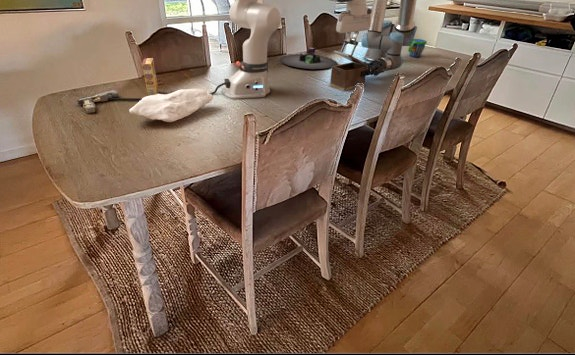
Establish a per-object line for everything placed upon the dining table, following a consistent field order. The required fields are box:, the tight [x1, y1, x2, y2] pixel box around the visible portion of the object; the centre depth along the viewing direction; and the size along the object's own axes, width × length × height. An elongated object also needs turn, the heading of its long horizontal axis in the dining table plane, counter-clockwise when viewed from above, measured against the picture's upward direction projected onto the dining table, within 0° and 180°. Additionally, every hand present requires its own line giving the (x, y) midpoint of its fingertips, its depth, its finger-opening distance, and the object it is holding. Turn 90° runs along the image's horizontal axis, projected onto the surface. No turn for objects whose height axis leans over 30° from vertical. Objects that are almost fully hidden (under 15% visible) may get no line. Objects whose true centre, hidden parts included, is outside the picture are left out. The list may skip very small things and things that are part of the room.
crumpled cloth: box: [129, 88, 214, 123], centre depth 147 cm, size 24×35×9 cm
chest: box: [329, 61, 367, 92], centre depth 186 cm, size 16×10×10 cm, turn 129°
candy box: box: [141, 57, 160, 96], centre depth 163 cm, size 9×4×15 cm, turn 13°
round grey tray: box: [279, 46, 338, 70], centre depth 221 cm, size 35×35×9 cm
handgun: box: [76, 89, 120, 114], centre depth 155 cm, size 3×18×15 cm
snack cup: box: [407, 38, 428, 58], centre depth 243 cm, size 16×10×10 cm
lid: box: [333, 38, 368, 66], centre depth 180 cm, size 16×10×8 cm, turn 130°
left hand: (351, 41), depth 176 cm, fingers closed
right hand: (353, 71), depth 187 cm, fingers closed on chest, 10 cm apart
